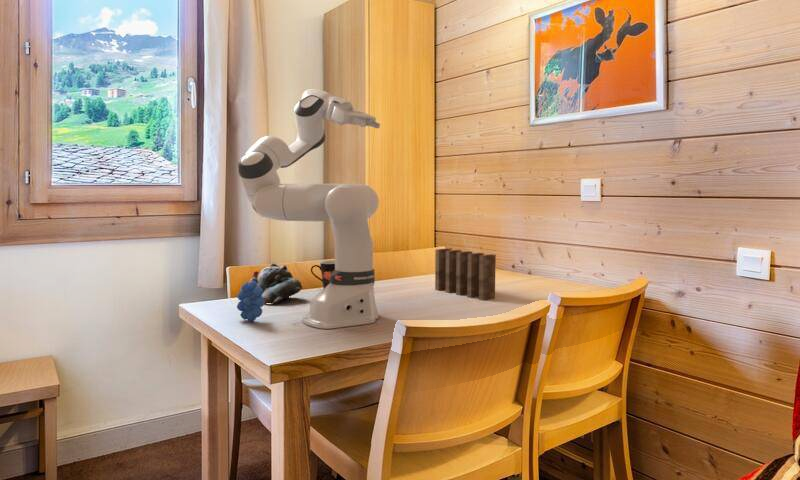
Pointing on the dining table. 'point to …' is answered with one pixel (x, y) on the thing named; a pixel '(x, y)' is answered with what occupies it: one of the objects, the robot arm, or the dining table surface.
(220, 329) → the dining table surface
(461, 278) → the domino
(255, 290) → the grapes
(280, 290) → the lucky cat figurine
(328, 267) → the coffee mug
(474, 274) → the domino
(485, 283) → the domino
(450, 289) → the domino
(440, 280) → the domino
